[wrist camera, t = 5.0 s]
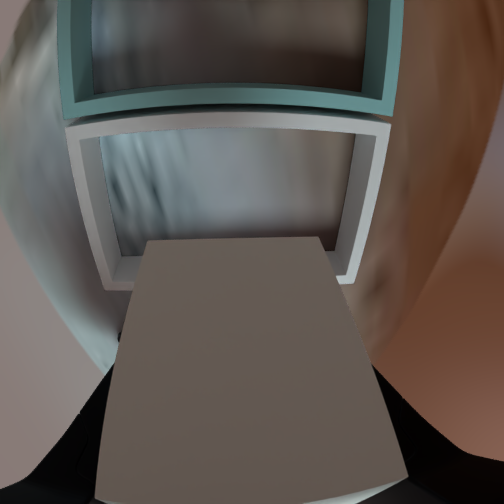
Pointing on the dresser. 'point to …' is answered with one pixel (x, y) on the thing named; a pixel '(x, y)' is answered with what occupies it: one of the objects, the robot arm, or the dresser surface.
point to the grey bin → (225, 116)
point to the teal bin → (368, 100)
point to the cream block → (243, 382)
